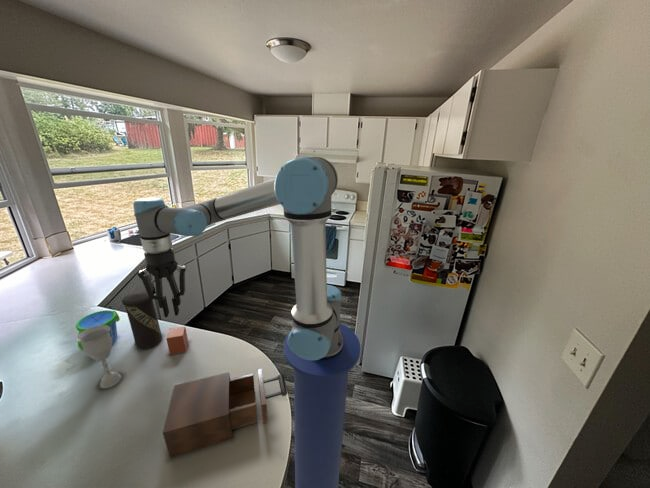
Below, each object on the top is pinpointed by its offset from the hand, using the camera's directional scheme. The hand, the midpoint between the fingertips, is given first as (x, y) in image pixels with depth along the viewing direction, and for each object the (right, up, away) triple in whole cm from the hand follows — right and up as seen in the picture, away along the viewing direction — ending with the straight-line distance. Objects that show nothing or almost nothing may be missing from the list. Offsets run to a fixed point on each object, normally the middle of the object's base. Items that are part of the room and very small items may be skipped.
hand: (172, 313), depth 84 cm
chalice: (-14, -18, -8) cm, 24 cm away
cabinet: (+20, -23, -19) cm, 36 cm away
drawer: (+32, -21, -15) cm, 41 cm away
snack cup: (-29, -12, +7) cm, 32 cm away
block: (0, -14, +5) cm, 15 cm away
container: (-13, -12, +8) cm, 20 cm away
